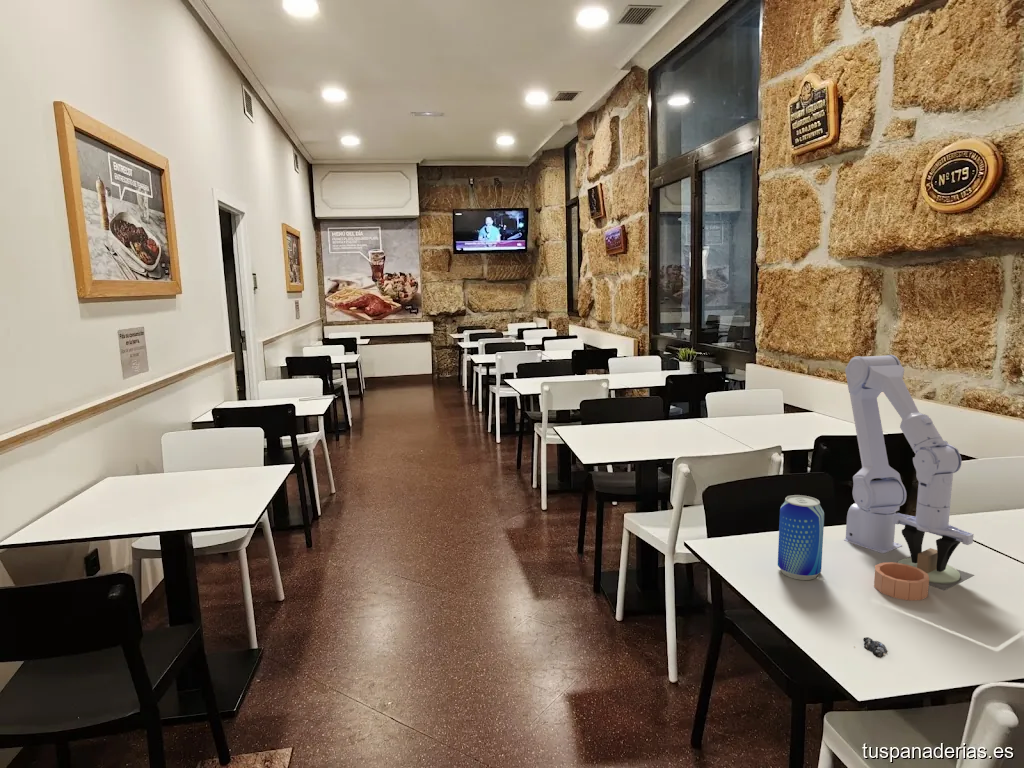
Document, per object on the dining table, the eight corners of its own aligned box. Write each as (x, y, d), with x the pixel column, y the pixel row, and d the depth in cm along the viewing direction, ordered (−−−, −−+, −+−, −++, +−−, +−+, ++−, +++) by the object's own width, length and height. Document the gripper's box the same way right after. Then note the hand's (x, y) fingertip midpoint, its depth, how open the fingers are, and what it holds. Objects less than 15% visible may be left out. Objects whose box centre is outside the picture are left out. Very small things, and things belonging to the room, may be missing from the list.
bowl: (864, 588, 128) (865, 569, 128) (889, 577, 133) (890, 558, 132) (911, 606, 121) (913, 586, 120) (936, 594, 125) (937, 574, 125)
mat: (882, 570, 136) (882, 568, 136) (912, 557, 142) (913, 554, 142) (944, 592, 126) (944, 590, 126) (974, 577, 132) (974, 575, 132)
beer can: (826, 571, 136) (830, 499, 134) (812, 585, 130) (816, 509, 128) (786, 560, 142) (789, 491, 139) (771, 573, 136) (774, 501, 133)
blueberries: (863, 666, 104) (864, 656, 104) (838, 636, 112) (839, 626, 112) (904, 665, 104) (906, 655, 104) (877, 635, 112) (878, 625, 112)
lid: (886, 568, 136) (887, 549, 135) (914, 556, 142) (915, 538, 141) (943, 588, 127) (944, 568, 126) (970, 574, 132) (972, 555, 132)
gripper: (886, 497, 136) (882, 558, 138) (963, 517, 124) (957, 584, 126) (904, 491, 140) (900, 550, 142) (980, 510, 127) (974, 575, 129)
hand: (928, 566), depth 134 cm, fingers open, 4 cm apart
